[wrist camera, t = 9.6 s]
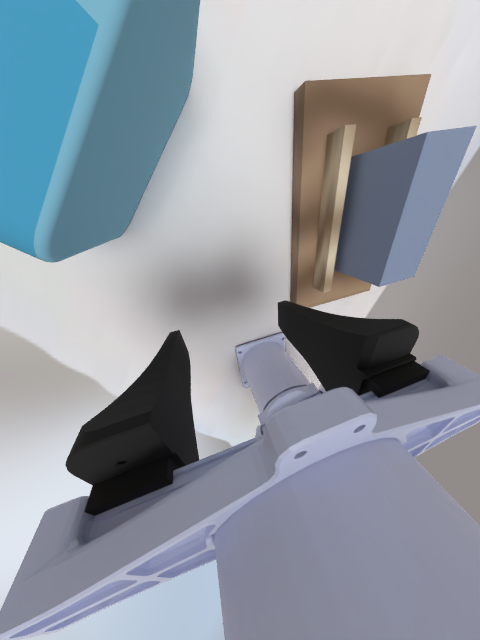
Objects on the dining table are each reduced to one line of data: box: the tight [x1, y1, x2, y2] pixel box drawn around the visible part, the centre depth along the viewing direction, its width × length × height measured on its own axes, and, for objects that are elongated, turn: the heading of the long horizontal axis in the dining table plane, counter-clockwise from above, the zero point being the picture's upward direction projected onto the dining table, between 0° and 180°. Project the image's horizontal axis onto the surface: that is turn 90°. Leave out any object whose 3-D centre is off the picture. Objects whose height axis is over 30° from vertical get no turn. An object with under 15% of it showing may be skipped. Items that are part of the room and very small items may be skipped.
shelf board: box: [291, 74, 431, 308], centre depth 19 cm, size 20×12×4 cm, turn 8°
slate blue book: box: [334, 126, 476, 287], centre depth 17 cm, size 10×4×7 cm, turn 8°
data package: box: [0, 0, 200, 262], centre depth 8 cm, size 12×4×12 cm, turn 142°
